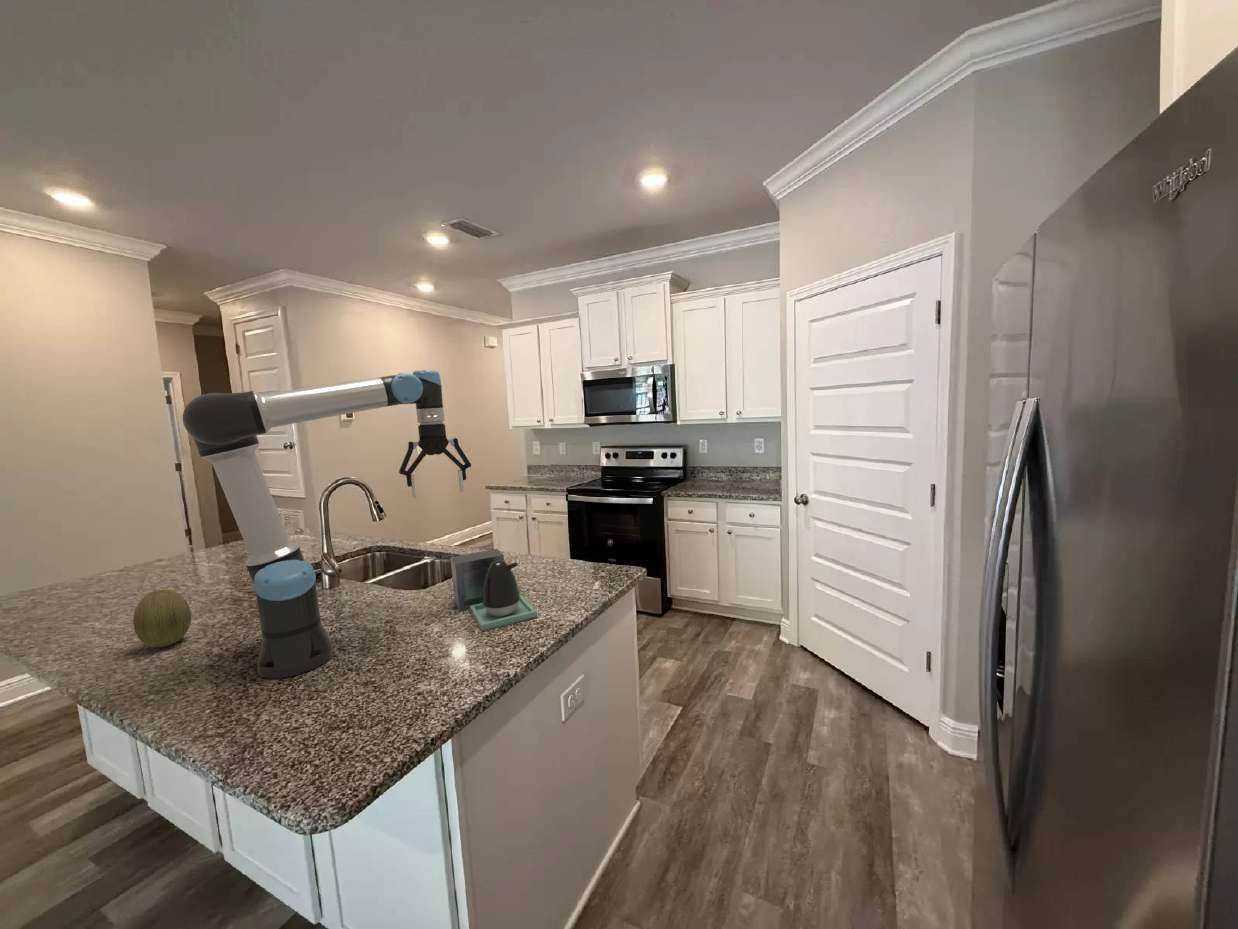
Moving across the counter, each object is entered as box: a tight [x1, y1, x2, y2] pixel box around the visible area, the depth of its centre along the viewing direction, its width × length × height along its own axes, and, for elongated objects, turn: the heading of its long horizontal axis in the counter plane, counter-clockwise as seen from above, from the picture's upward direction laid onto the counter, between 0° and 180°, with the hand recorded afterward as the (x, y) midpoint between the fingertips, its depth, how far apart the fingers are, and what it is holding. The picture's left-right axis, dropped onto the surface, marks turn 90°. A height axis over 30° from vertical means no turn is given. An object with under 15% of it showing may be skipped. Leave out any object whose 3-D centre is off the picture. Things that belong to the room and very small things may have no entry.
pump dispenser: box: [482, 560, 521, 617], centre depth 138 cm, size 10×10×15 cm
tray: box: [469, 593, 538, 633], centre depth 139 cm, size 15×15×2 cm
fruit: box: [132, 589, 192, 648], centre depth 131 cm, size 11×11×15 cm
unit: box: [449, 548, 505, 612], centre depth 149 cm, size 14×9×14 cm, turn 118°
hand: (438, 494), depth 149 cm, fingers open, 13 cm apart
